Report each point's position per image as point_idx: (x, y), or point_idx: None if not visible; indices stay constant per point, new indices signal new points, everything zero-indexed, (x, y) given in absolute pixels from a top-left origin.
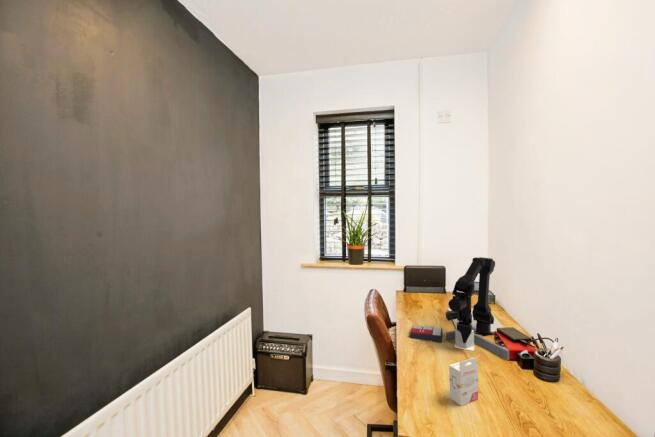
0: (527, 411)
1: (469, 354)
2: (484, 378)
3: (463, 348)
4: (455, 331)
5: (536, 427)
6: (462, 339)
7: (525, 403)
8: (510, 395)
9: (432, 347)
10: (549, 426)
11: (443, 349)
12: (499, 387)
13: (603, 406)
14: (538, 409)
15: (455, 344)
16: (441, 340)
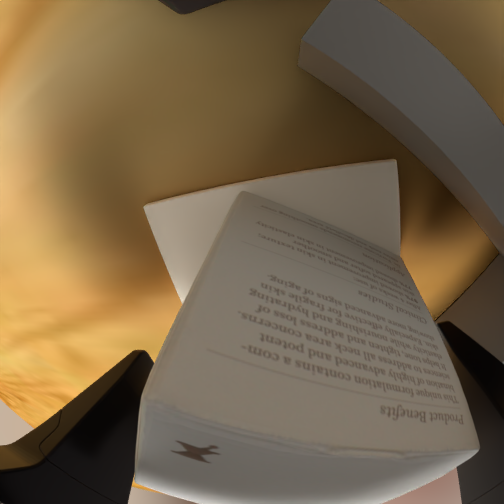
0: (23, 410)
1: (130, 337)
2: (21, 370)
3: (183, 295)
4: (171, 335)
5: (9, 406)
6: (99, 379)
7: (37, 417)
8: (30, 404)
9: (24, 32)
10: (27, 421)
11: (41, 125)
12: (29, 394)
13: (158, 492)
14: None
15: (230, 193)
16: (164, 3)
